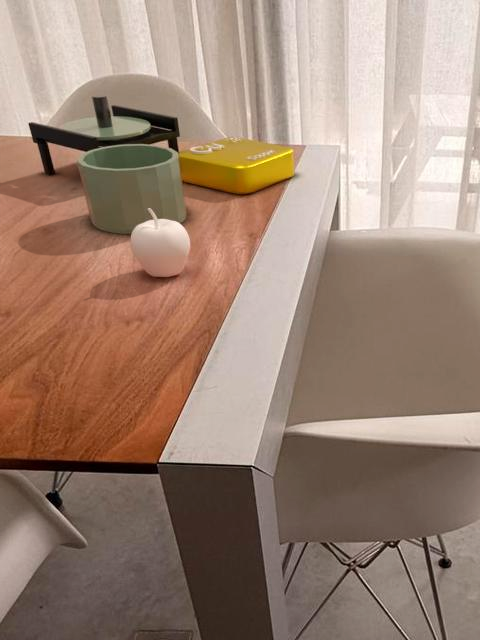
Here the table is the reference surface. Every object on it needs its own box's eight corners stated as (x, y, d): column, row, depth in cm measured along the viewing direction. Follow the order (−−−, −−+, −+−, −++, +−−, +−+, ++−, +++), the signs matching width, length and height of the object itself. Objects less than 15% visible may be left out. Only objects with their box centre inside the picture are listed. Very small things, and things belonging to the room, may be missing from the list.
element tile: (244, 196, 110) (242, 165, 107) (175, 180, 116) (171, 150, 113) (299, 174, 120) (298, 145, 117) (233, 161, 126) (230, 132, 122)
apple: (126, 270, 86) (113, 205, 81) (177, 257, 90) (167, 194, 85) (152, 288, 82) (139, 221, 77) (204, 274, 86) (195, 209, 81)
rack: (103, 191, 110) (92, 137, 105) (41, 174, 117) (27, 122, 112) (184, 167, 122) (177, 117, 117) (123, 152, 129) (114, 104, 124)
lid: (100, 149, 108) (92, 109, 104) (41, 134, 114) (32, 97, 110) (169, 131, 117) (164, 94, 114) (112, 119, 124) (105, 83, 120)
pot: (136, 241, 94) (123, 176, 89) (72, 220, 100) (56, 158, 94) (205, 214, 103) (197, 154, 97) (143, 197, 109) (132, 139, 103)
